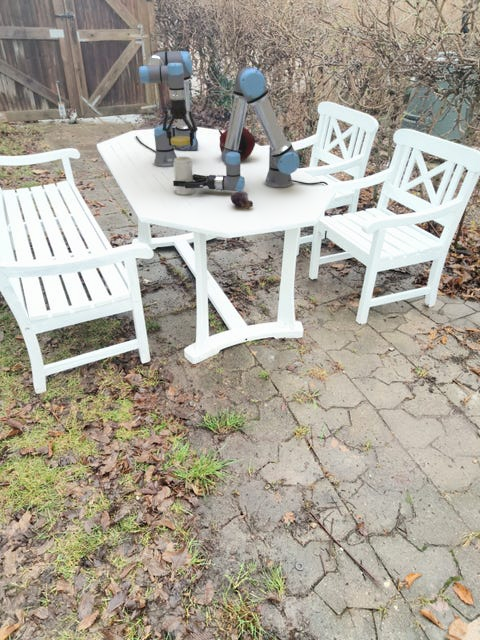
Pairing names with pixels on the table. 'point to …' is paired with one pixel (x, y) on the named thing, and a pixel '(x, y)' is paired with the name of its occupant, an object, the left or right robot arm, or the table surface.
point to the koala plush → (189, 147)
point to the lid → (180, 140)
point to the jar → (183, 174)
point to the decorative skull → (245, 143)
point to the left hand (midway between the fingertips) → (181, 145)
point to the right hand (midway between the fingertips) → (176, 180)
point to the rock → (241, 200)
